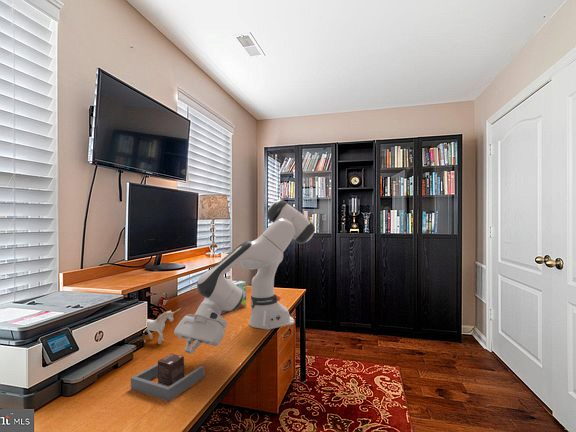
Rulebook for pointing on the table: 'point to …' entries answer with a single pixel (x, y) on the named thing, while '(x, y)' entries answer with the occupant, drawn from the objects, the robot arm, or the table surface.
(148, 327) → the unicorn figurine
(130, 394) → the table surface
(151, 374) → the box
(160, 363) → the box
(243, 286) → the snack box
